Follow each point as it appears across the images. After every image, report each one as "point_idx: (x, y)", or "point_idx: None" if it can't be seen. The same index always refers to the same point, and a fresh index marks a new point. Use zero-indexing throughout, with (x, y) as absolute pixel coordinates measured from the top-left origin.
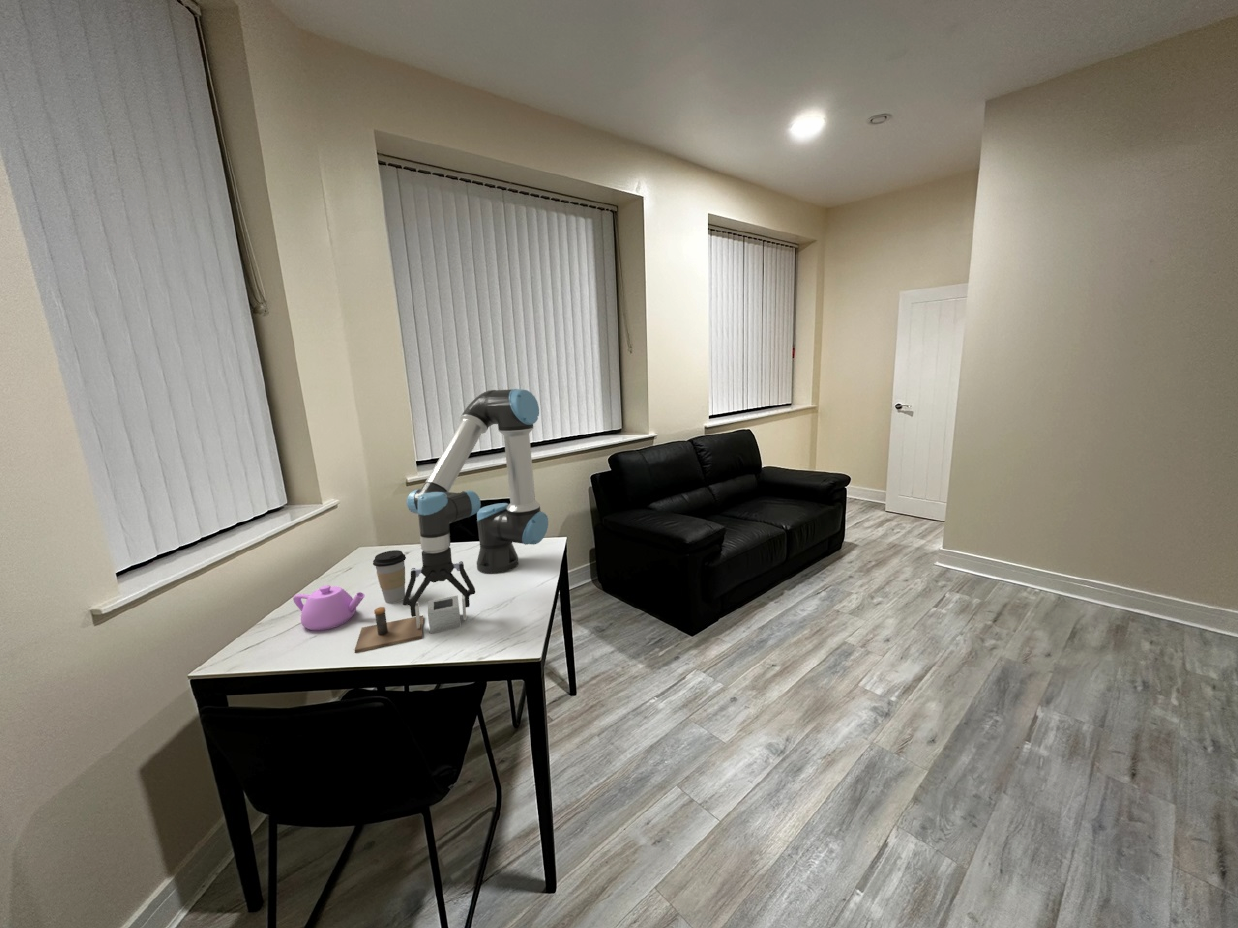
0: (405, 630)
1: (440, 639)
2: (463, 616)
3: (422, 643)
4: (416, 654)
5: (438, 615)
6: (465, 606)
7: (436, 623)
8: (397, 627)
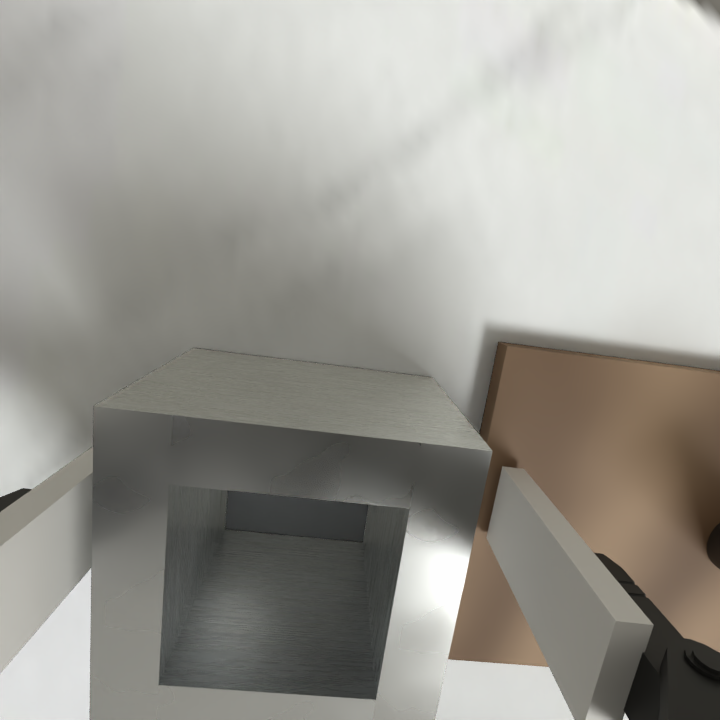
0: (598, 495)
1: (375, 236)
2: None
3: (510, 255)
4: (584, 98)
5: (365, 416)
6: (45, 481)
7: (386, 391)
8: (636, 570)
